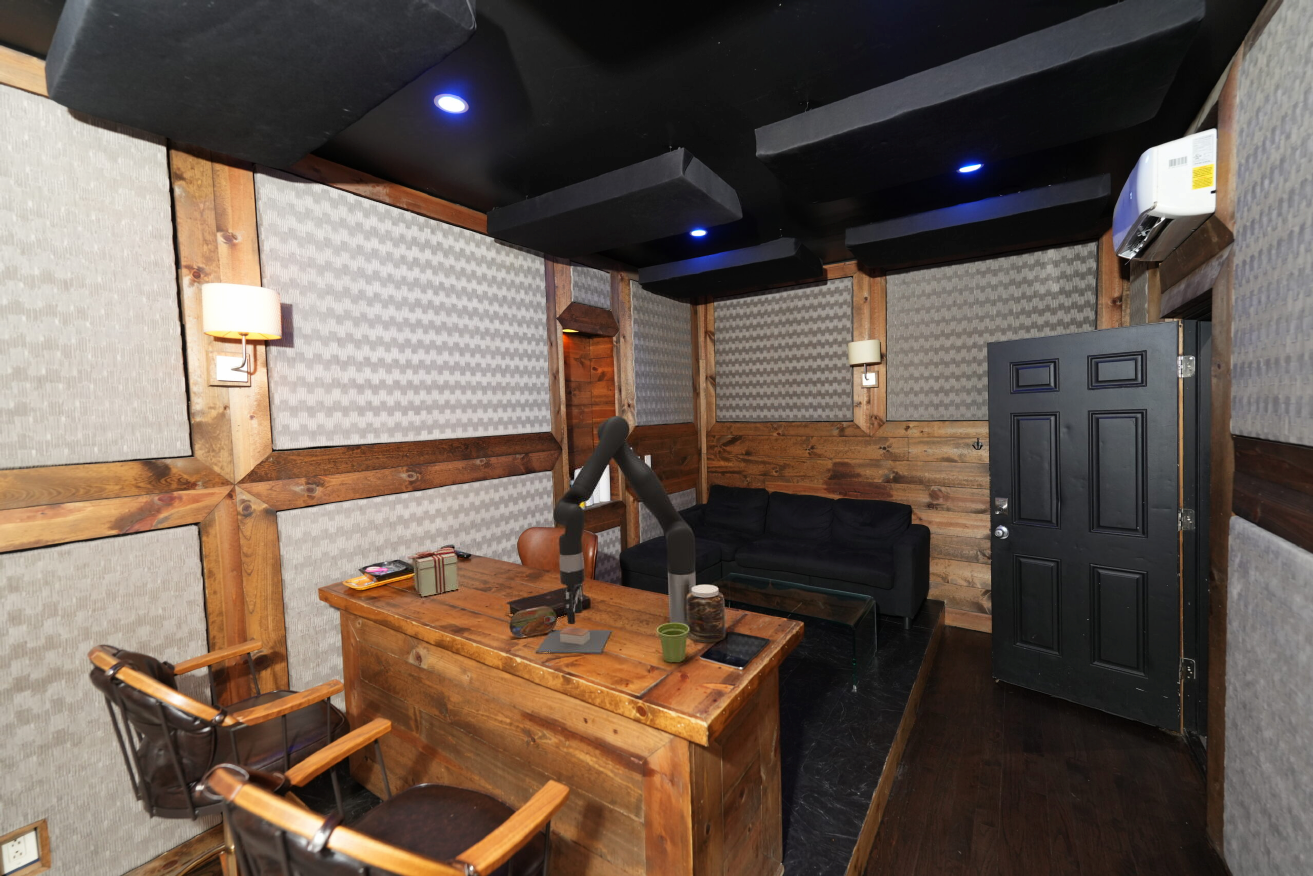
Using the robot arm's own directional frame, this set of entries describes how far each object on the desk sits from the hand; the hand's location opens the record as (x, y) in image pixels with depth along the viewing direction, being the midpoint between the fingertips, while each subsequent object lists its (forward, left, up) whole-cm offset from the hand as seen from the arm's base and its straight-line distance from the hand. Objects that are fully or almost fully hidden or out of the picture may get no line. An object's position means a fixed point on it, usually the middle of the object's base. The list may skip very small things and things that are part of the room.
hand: (575, 618), depth 165 cm
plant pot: (-32, +10, -8) cm, 34 cm away
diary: (+18, -27, -9) cm, 33 cm away
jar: (-41, -6, -8) cm, 42 cm away
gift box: (+76, -50, -8) cm, 91 cm away
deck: (0, 0, -7) cm, 7 cm away
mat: (0, 0, -8) cm, 8 cm away
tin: (+15, -5, -8) cm, 18 cm away
